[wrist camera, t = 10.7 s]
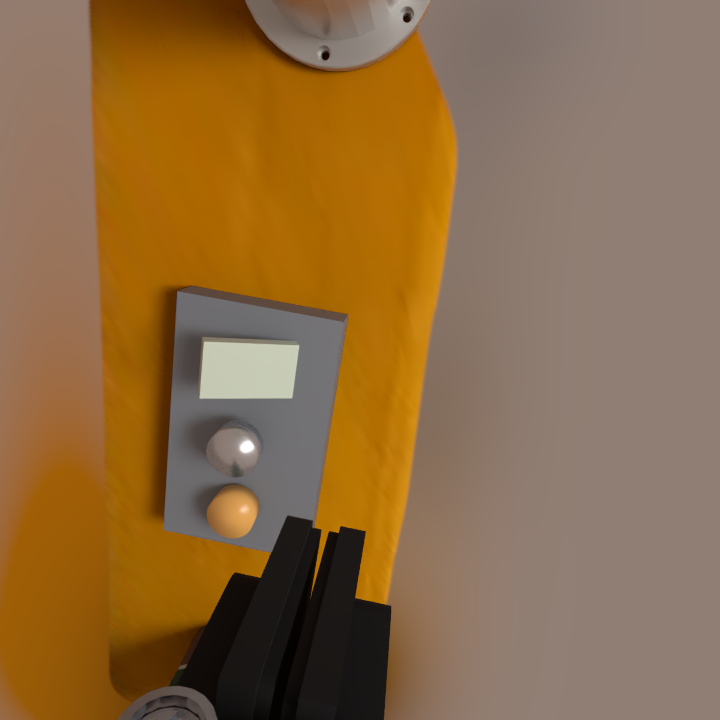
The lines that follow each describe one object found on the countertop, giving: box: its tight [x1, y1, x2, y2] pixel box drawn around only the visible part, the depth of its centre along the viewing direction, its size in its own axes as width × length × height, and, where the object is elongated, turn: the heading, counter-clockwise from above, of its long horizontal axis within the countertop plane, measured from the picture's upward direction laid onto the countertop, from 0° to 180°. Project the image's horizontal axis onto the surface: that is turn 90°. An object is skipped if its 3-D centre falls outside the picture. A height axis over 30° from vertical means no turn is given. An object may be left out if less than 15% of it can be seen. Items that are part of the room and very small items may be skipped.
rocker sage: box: [198, 337, 299, 399], centre depth 36 cm, size 4×6×1 cm, turn 81°
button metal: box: [206, 420, 264, 478], centre depth 38 cm, size 4×4×2 cm
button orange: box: [207, 484, 260, 538], centre depth 41 cm, size 4×4×2 cm
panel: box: [164, 286, 348, 552], centre depth 41 cm, size 20×12×4 cm, turn 171°
